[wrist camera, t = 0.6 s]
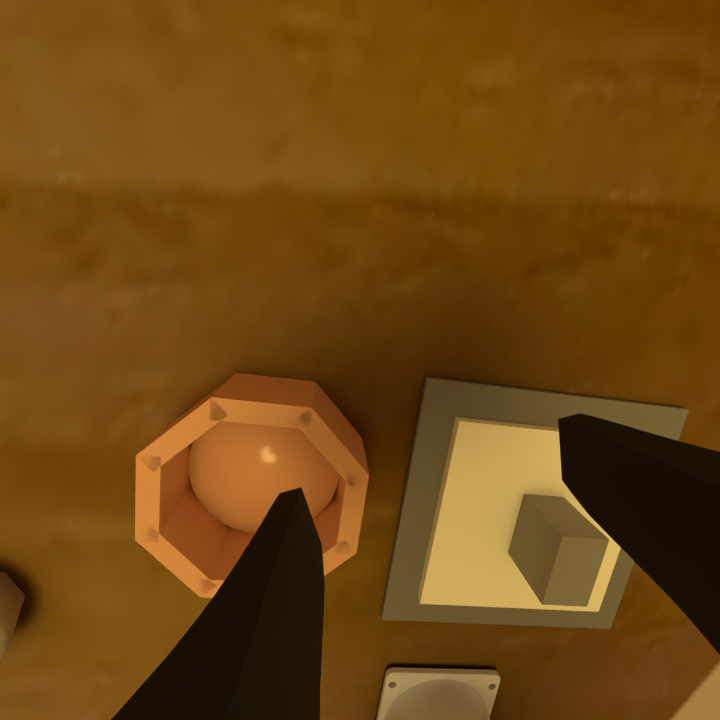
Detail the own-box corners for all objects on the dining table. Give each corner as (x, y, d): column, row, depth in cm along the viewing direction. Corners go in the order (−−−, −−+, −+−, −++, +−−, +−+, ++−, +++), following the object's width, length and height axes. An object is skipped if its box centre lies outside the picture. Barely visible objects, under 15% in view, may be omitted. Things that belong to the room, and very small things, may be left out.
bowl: (345, 544, 21) (348, 604, 17) (171, 534, 20) (134, 594, 16) (369, 387, 19) (379, 414, 15) (177, 365, 18) (136, 388, 14)
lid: (592, 603, 23) (645, 669, 19) (417, 595, 22) (436, 664, 18) (648, 437, 21) (723, 474, 17) (455, 416, 20) (487, 451, 16)
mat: (605, 623, 24) (610, 628, 24) (380, 614, 23) (381, 619, 22) (682, 407, 21) (689, 409, 21) (425, 376, 19) (427, 378, 19)
